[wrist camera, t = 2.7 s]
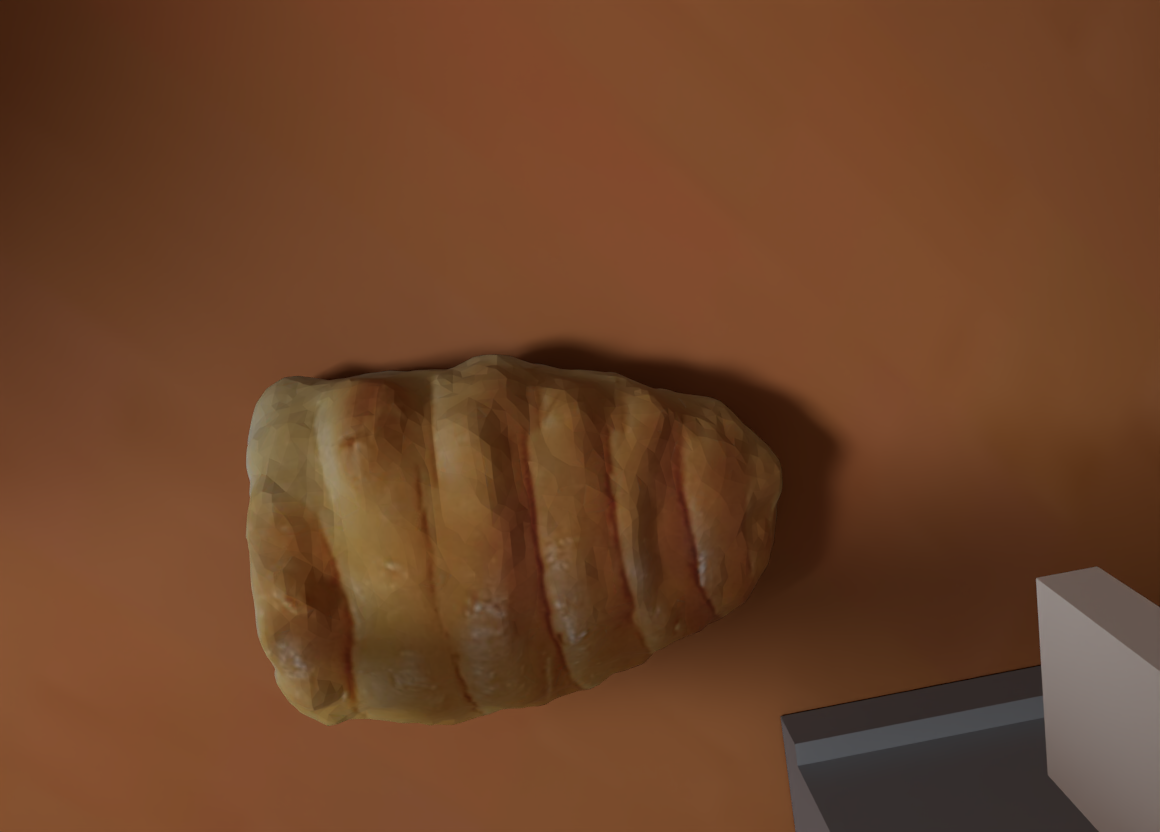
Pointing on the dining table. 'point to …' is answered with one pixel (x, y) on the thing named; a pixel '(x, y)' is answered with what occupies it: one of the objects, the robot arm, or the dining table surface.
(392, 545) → the pastry
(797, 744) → the tray
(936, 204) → the dining table surface
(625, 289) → the dining table surface
